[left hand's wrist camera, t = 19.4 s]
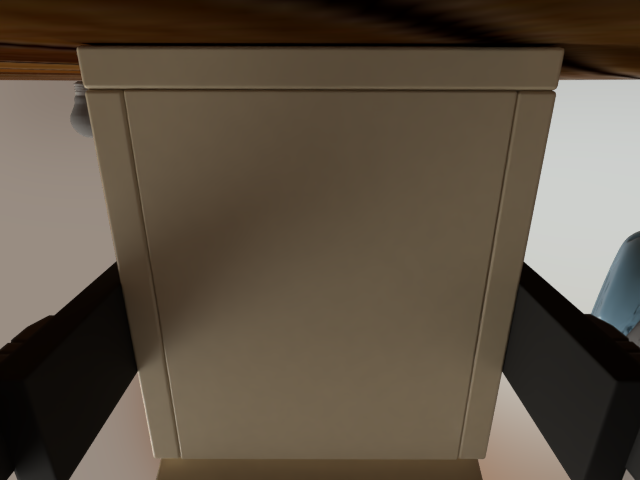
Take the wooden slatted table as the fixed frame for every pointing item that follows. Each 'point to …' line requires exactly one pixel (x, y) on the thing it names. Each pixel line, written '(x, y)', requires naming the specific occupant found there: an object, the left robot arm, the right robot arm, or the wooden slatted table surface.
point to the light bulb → (81, 112)
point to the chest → (320, 239)
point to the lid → (318, 469)
